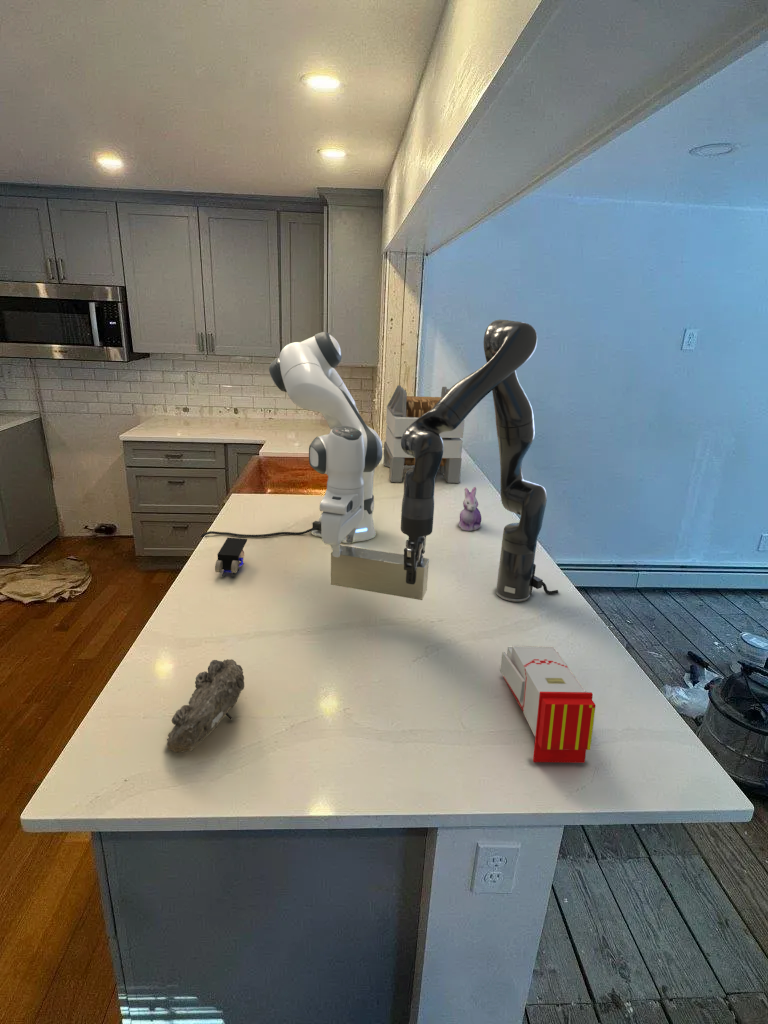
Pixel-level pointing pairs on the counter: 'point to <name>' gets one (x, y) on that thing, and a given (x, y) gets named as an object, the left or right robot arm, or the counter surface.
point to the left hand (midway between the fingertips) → (343, 548)
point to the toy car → (230, 556)
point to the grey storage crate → (400, 418)
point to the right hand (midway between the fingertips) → (413, 577)
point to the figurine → (470, 512)
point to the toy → (550, 702)
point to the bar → (377, 572)
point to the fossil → (206, 705)
